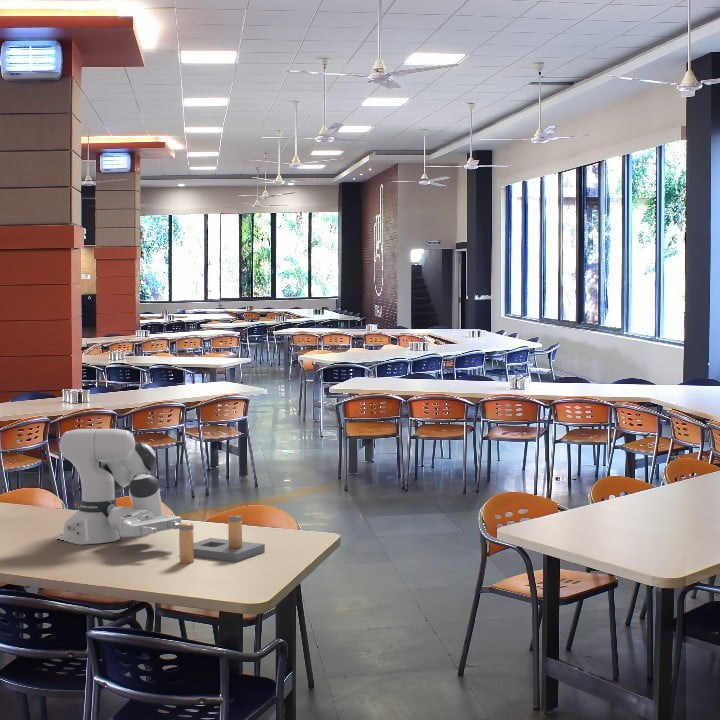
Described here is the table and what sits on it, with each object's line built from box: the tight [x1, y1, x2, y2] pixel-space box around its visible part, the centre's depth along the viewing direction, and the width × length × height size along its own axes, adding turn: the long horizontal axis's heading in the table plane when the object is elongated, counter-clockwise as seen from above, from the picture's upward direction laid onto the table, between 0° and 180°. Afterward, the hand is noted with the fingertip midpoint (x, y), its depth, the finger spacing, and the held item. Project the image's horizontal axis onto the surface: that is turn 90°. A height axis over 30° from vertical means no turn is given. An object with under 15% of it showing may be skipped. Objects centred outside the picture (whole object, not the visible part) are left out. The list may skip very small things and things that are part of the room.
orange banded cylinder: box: [178, 522, 195, 565], centre depth 314 cm, size 4×4×12 cm
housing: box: [194, 514, 266, 563], centre depth 325 cm, size 22×16×12 cm
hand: (166, 528), depth 323 cm, fingers open, 8 cm apart
